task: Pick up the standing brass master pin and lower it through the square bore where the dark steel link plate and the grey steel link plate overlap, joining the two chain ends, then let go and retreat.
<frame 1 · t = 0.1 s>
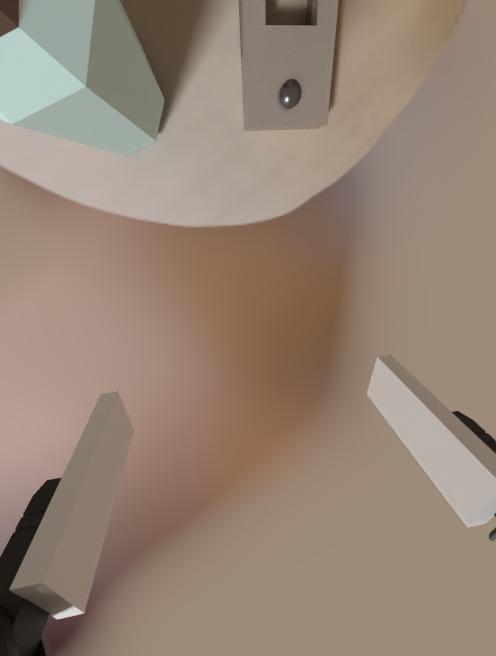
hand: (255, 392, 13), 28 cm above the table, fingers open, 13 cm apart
water bottle: (118, 100, 27), on the table
chain ends: (283, 3, 25), on the table
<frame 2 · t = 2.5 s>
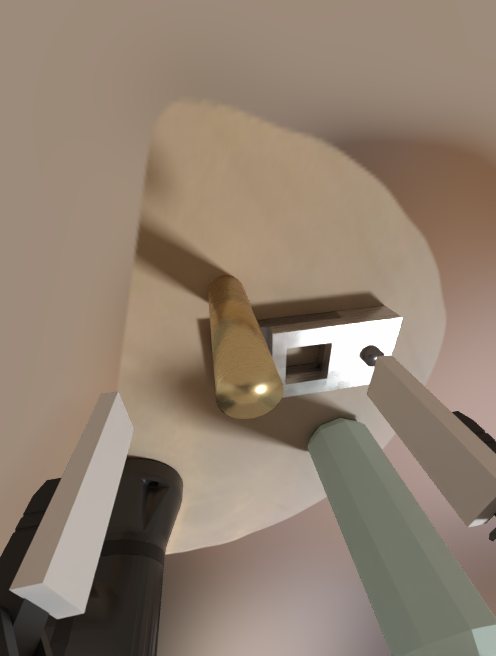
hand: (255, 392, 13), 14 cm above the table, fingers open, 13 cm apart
master pin: (226, 293, 25), on the table
water bottle: (333, 434, 40), on the table
chain ends: (298, 348, 30), on the table
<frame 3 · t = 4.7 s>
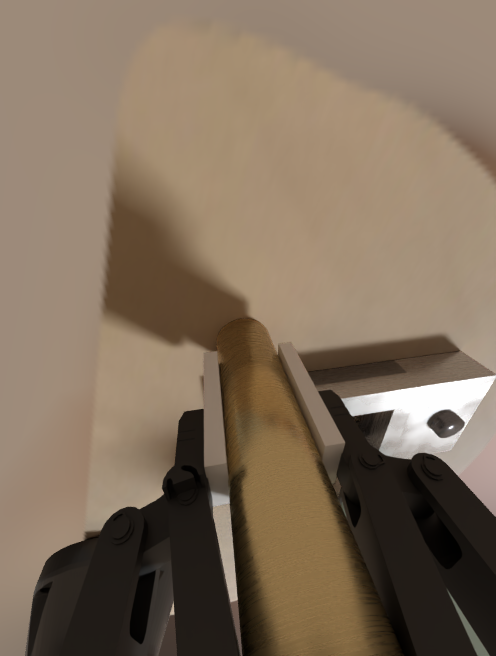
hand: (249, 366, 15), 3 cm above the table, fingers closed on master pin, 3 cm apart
master pin: (243, 342, 17), on the table, touching gripper
water bottle: (369, 495, 32), on the table
chain ends: (338, 406, 22), on the table
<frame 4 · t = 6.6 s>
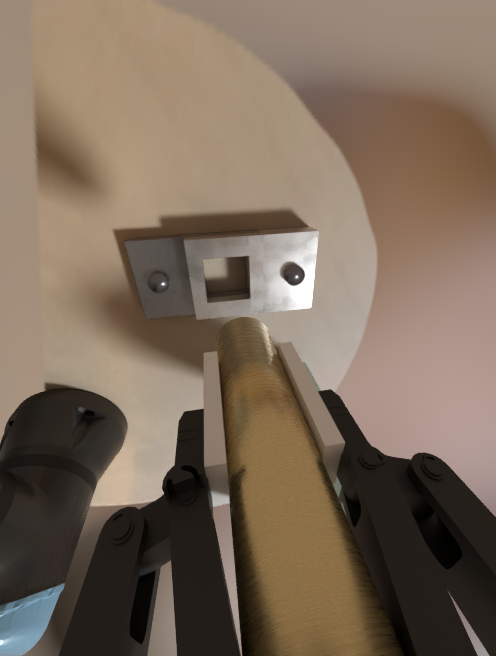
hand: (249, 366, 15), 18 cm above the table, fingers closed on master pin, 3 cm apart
master pin: (242, 340, 17), point 15 cm above the table, touching gripper
chain ends: (225, 271, 30), on the table
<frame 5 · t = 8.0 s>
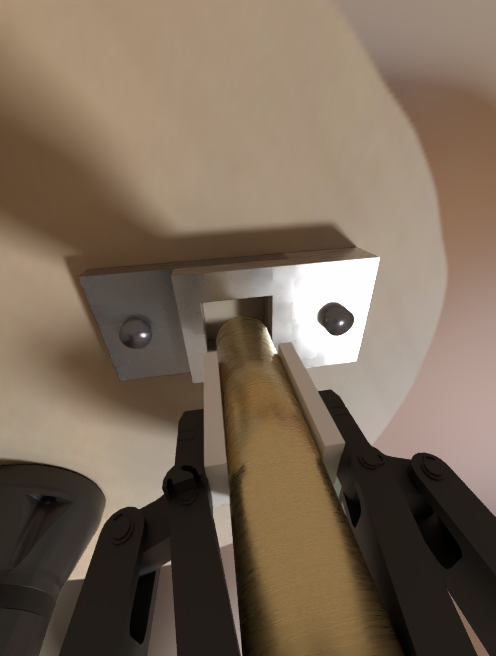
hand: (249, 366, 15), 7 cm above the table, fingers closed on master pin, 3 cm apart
master pin: (242, 339, 17), point 4 cm above the table, touching gripper
chain ends: (234, 311, 21), on the table
when the fingers open (4 cm above the table, at t = 8.9 s): master pin stays where it is, resting in chain ends.
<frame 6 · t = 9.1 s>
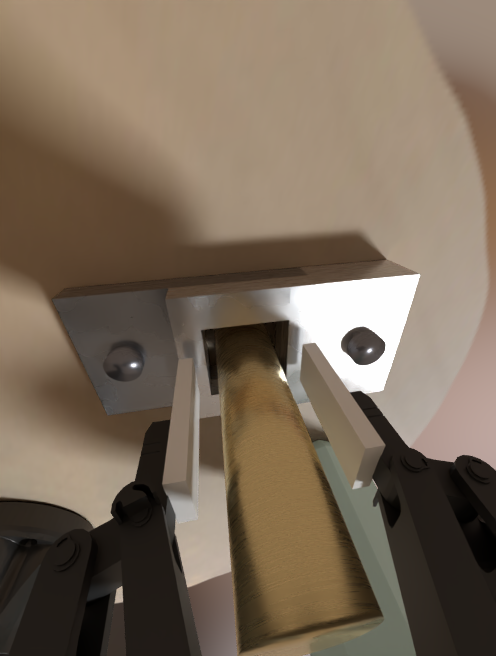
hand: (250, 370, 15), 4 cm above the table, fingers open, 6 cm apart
master pin: (240, 333, 18), resting in chain ends
water bottle: (312, 462, 28), on the table
chain ends: (241, 334, 18), on the table
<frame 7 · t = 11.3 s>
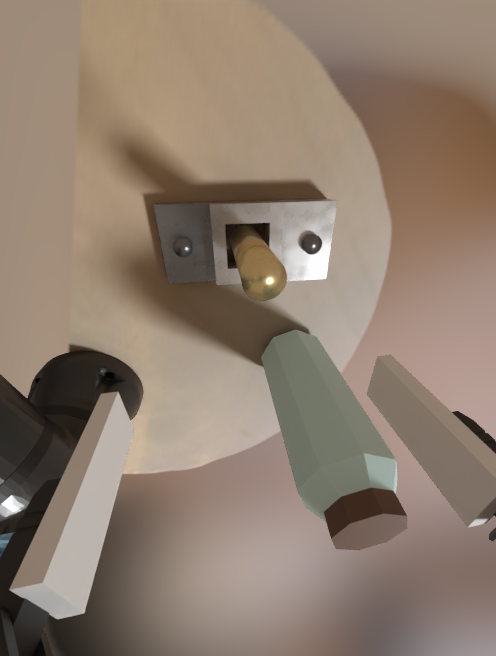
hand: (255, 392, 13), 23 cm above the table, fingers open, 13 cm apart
master pin: (244, 240, 32), resting in chain ends
water bottle: (289, 350, 42), on the table
chain ends: (245, 240, 32), on the table
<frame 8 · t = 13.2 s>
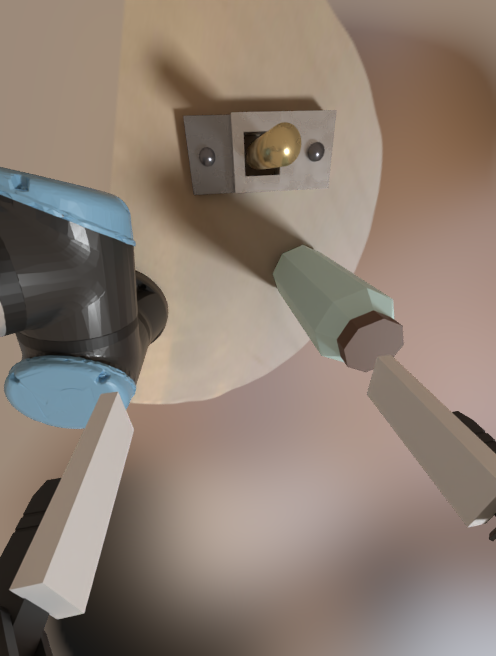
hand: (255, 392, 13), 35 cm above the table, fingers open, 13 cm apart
master pin: (257, 155, 37), resting in chain ends
water bottle: (296, 270, 47), on the table
chain ends: (258, 155, 37), on the table
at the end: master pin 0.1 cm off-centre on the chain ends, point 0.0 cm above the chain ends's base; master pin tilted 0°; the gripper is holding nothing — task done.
